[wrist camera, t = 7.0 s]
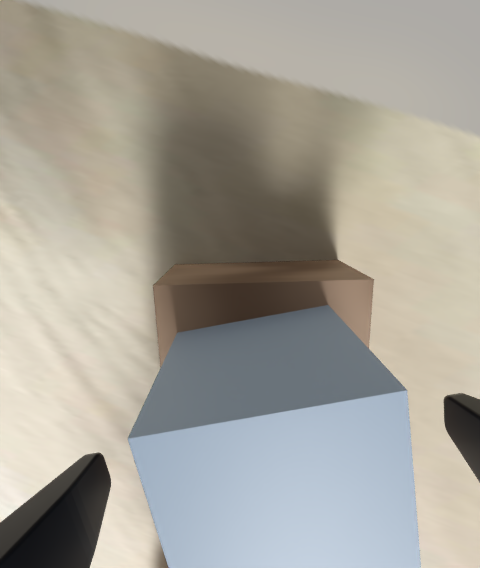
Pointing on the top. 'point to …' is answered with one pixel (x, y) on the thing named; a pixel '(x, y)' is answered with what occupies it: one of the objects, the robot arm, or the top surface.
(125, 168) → the top surface
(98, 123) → the top surface
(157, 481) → the blue brick
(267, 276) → the base brick
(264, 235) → the top surface
